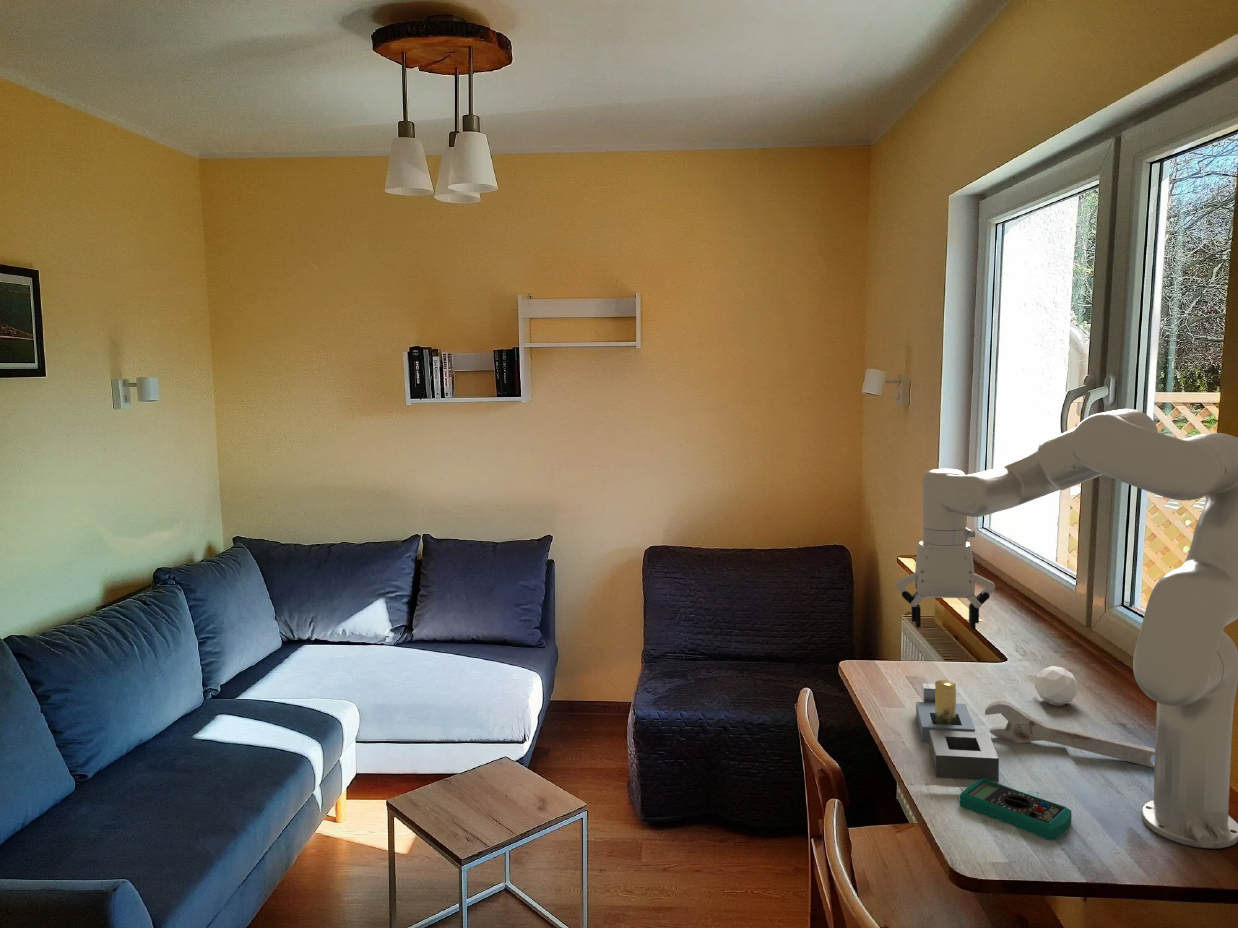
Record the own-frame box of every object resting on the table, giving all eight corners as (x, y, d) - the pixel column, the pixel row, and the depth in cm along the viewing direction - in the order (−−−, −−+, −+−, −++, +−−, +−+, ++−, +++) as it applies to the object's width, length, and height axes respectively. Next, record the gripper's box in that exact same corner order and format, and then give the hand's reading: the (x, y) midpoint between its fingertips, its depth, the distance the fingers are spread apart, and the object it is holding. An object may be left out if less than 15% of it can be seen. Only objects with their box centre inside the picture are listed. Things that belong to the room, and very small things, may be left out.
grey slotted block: (998, 786, 148) (998, 758, 147) (936, 782, 150) (935, 754, 149) (988, 758, 157) (988, 732, 157) (929, 755, 160) (929, 729, 159)
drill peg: (957, 738, 164) (956, 687, 162) (936, 737, 165) (936, 686, 163) (954, 730, 167) (954, 680, 166) (934, 729, 168) (934, 679, 167)
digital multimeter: (1054, 845, 131) (1055, 826, 130) (957, 808, 143) (957, 790, 142) (1075, 825, 136) (1076, 807, 135) (980, 791, 147) (980, 774, 147)
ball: (1045, 716, 179) (1020, 684, 181) (1064, 693, 184) (1038, 662, 185) (1074, 710, 173) (1047, 677, 174) (1093, 686, 177) (1066, 654, 178)
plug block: (960, 732, 167) (960, 702, 167) (927, 730, 169) (927, 700, 168) (954, 713, 176) (954, 684, 175) (922, 711, 177) (922, 683, 176)
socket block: (974, 749, 161) (974, 729, 161) (922, 747, 163) (922, 726, 163) (965, 723, 172) (965, 703, 172) (916, 720, 174) (916, 701, 174)
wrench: (1164, 785, 151) (980, 739, 164) (1163, 780, 153) (981, 736, 165) (1172, 742, 150) (986, 700, 162) (1171, 738, 151) (987, 696, 164)
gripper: (991, 531, 162) (990, 620, 165) (893, 532, 167) (894, 618, 169) (998, 541, 155) (998, 633, 158) (897, 540, 159) (897, 631, 162)
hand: (944, 626), depth 163 cm, fingers open, 9 cm apart
